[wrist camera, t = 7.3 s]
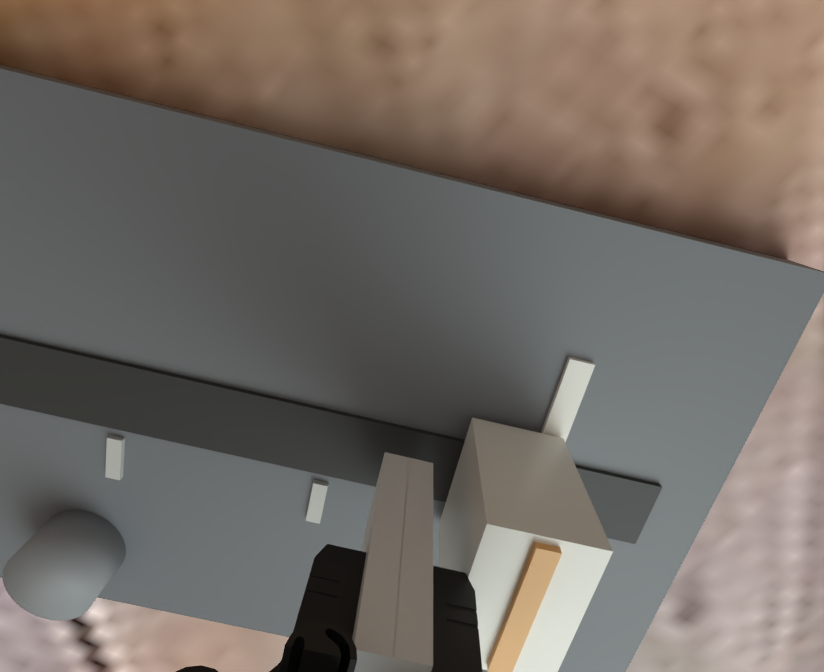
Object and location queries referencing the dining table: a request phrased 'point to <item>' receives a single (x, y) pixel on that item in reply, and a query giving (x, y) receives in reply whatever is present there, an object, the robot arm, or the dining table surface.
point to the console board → (337, 359)
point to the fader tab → (522, 544)
